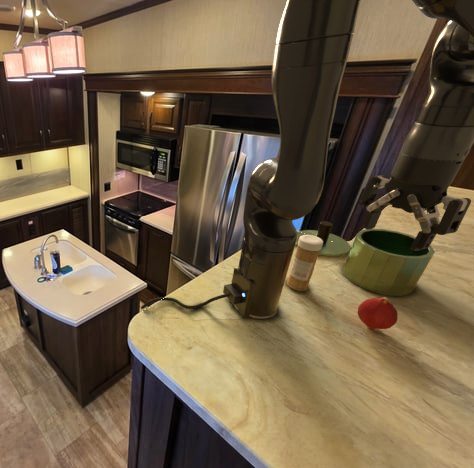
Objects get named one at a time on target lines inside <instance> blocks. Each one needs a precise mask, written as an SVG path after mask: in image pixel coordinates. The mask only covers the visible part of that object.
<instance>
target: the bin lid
mask: <svg viewBox="0 0 474 468" xmlns="http://www.w3.org/2000/svg"><path fill="white" fill-rule="evenodd" d="M333 226H334V223H332V222H330V221H327V220H322V221H320V222H319V225H318V229H317V230H316V229H315V230H314V229H305V230H299V231H297V235H298V236H297V241H296V244H295V246H297V247H298V241H299V238H300V236H302V235H313V236H316V237H319V238H320V239H322V240H323V245H322V248H321V250H320V251H319V254H318V256H319V255H320V256H324V257H325V256H326V257H339V256H340V257H341V256H344V255H347V254H349V252H350V250H351V245H350V243H349V242H348V241H347V240H346V239H344V238H342V237H340V236H338V235H336V234H333V233H331V232H332V229H333ZM301 232H302V233H301ZM304 233H305V234H304ZM331 241H333V242H331Z"/></svg>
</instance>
